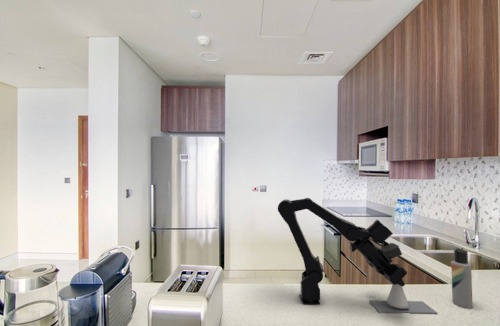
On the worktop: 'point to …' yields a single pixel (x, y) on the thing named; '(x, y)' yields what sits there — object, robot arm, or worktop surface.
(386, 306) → the charcoal mat
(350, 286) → the worktop surface
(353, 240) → the robot arm
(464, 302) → the lotion bottle
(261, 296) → the worktop surface
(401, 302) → the flask
